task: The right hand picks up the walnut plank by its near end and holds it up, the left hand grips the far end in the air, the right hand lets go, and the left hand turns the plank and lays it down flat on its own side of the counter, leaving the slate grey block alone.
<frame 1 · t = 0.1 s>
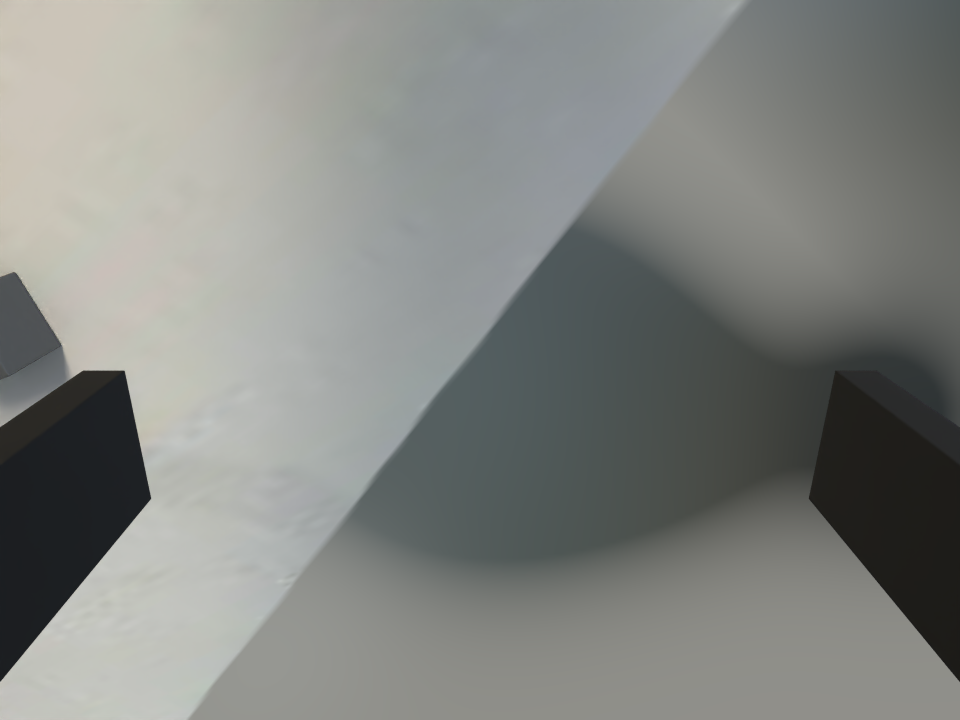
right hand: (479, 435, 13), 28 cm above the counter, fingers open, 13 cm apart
grey block: (4, 322, 41), on the counter
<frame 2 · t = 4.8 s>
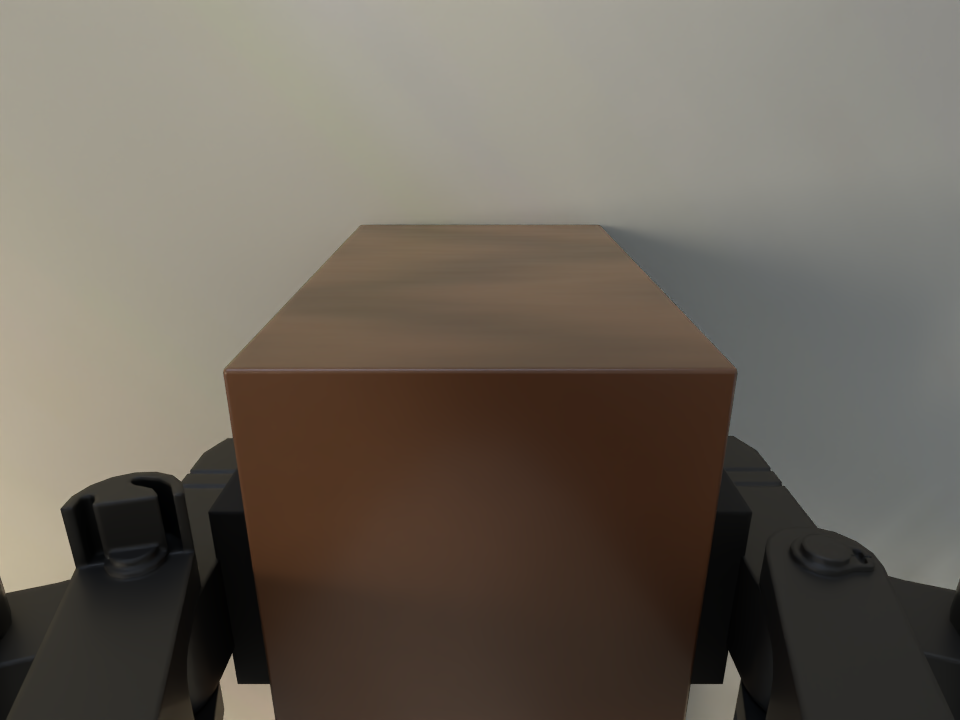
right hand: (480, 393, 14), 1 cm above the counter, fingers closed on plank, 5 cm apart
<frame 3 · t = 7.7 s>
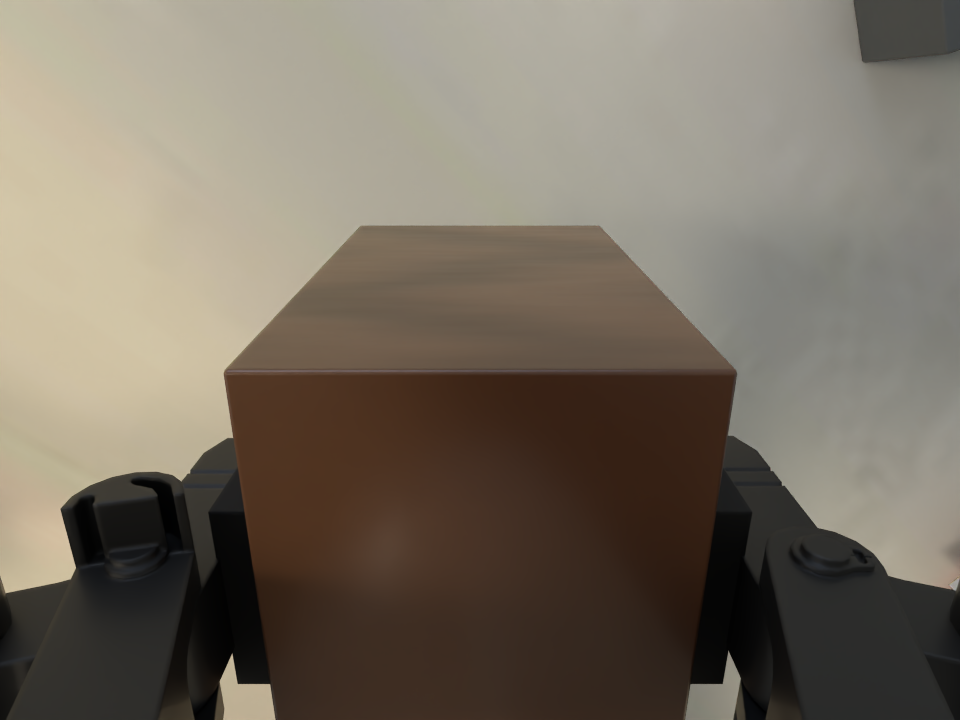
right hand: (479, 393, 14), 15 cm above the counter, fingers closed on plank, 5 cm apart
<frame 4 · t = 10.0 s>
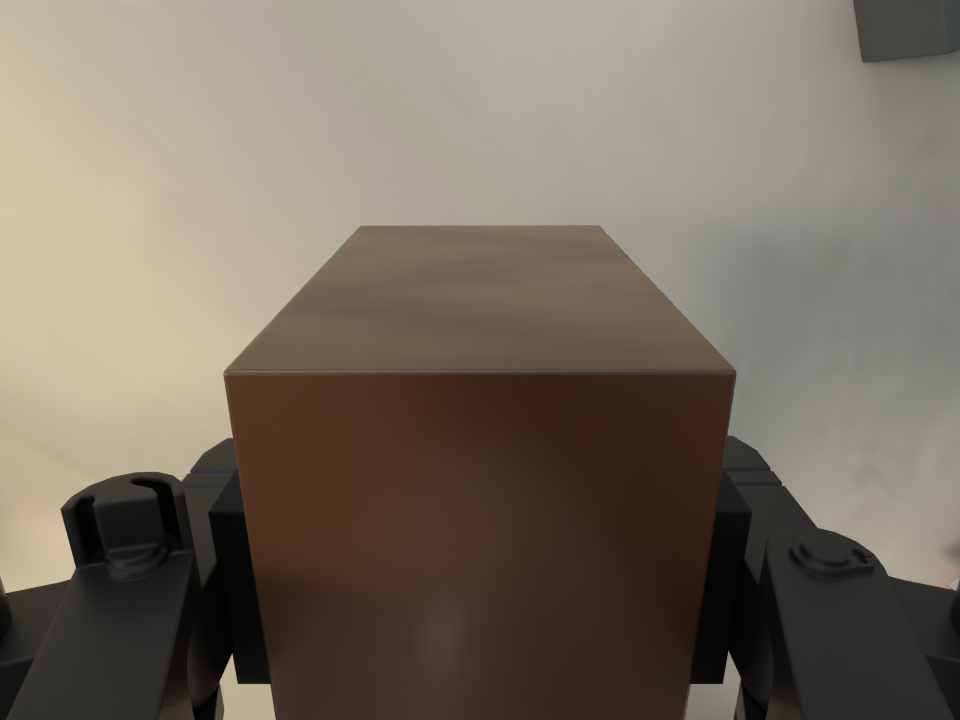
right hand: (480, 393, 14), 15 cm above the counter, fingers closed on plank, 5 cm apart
when the right hand's fingers open (15 cm above the counter, at t = 10.9 s): plank stays where it is, held by the left hand.
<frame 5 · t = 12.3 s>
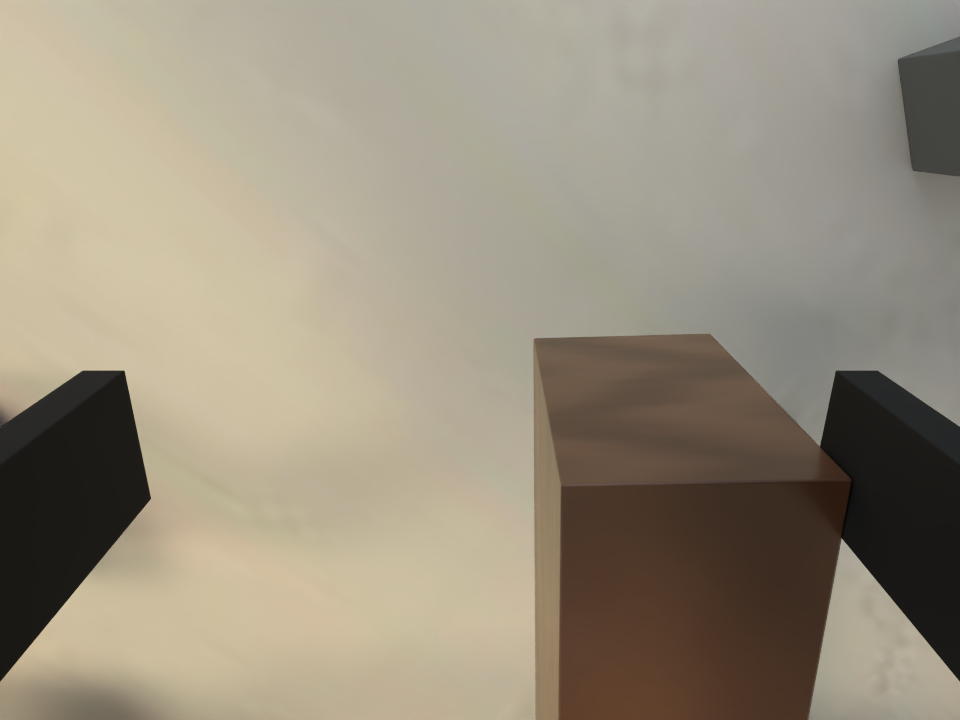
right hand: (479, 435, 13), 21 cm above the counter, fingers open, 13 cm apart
plank: (605, 707, 24), point 14 cm above the counter, touching right hand, left hand
when the left hand's fingers open (2 cm above the counter, at t = 18.8 s): plank stays where it is, on the counter.
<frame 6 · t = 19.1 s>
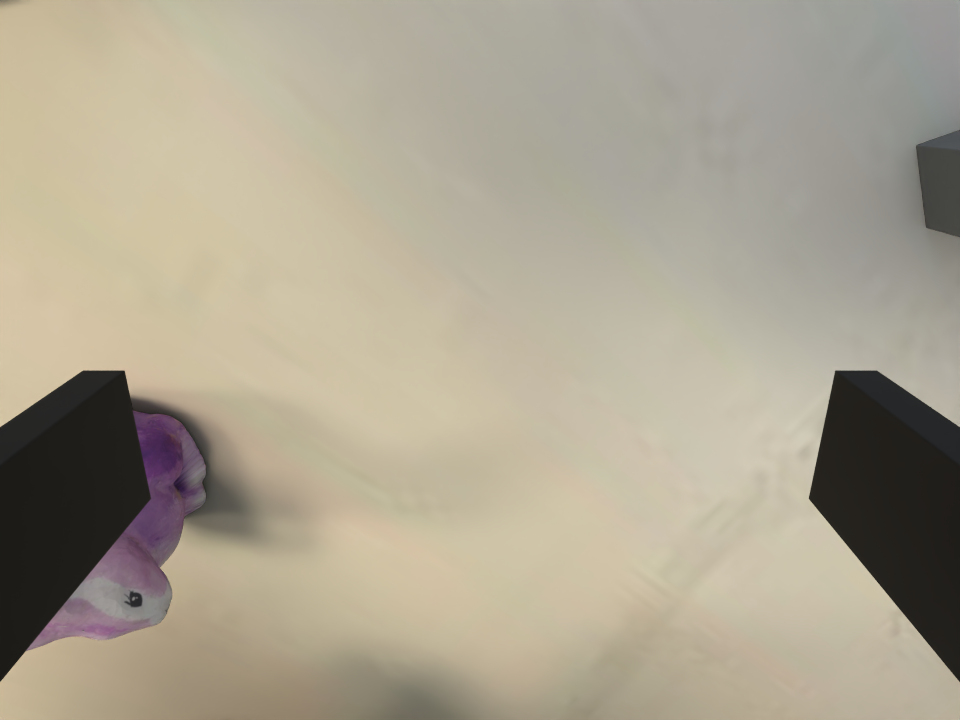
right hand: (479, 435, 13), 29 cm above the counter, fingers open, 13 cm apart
figurine: (156, 461, 46), on the counter
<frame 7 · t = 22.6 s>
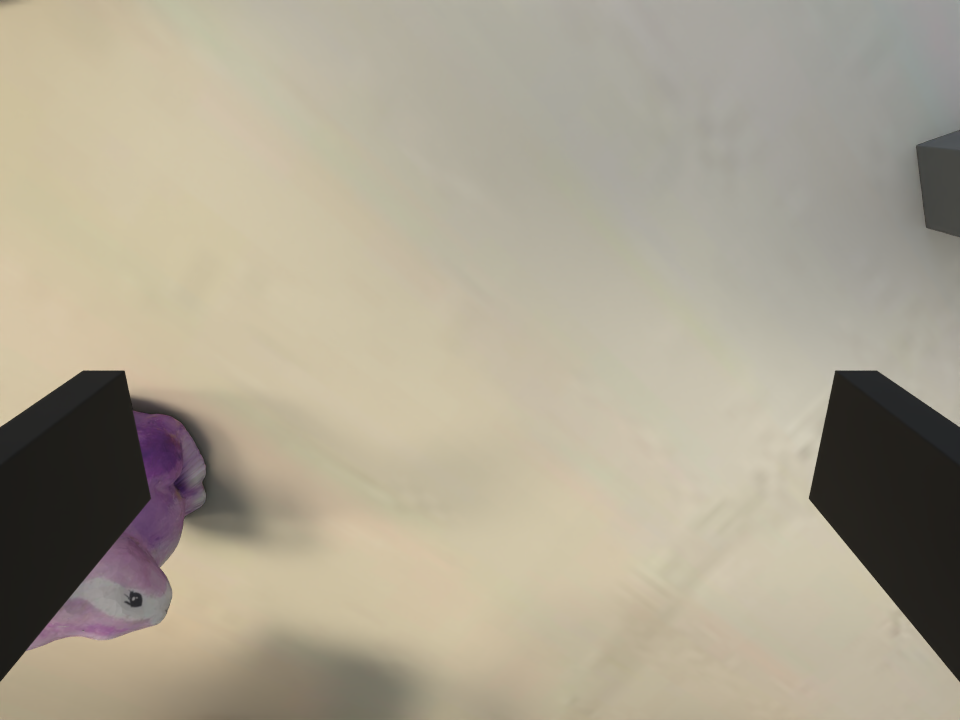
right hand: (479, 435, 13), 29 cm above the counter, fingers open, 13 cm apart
figurine: (156, 461, 46), on the counter
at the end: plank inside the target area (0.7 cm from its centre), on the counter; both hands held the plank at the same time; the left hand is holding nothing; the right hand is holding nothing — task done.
